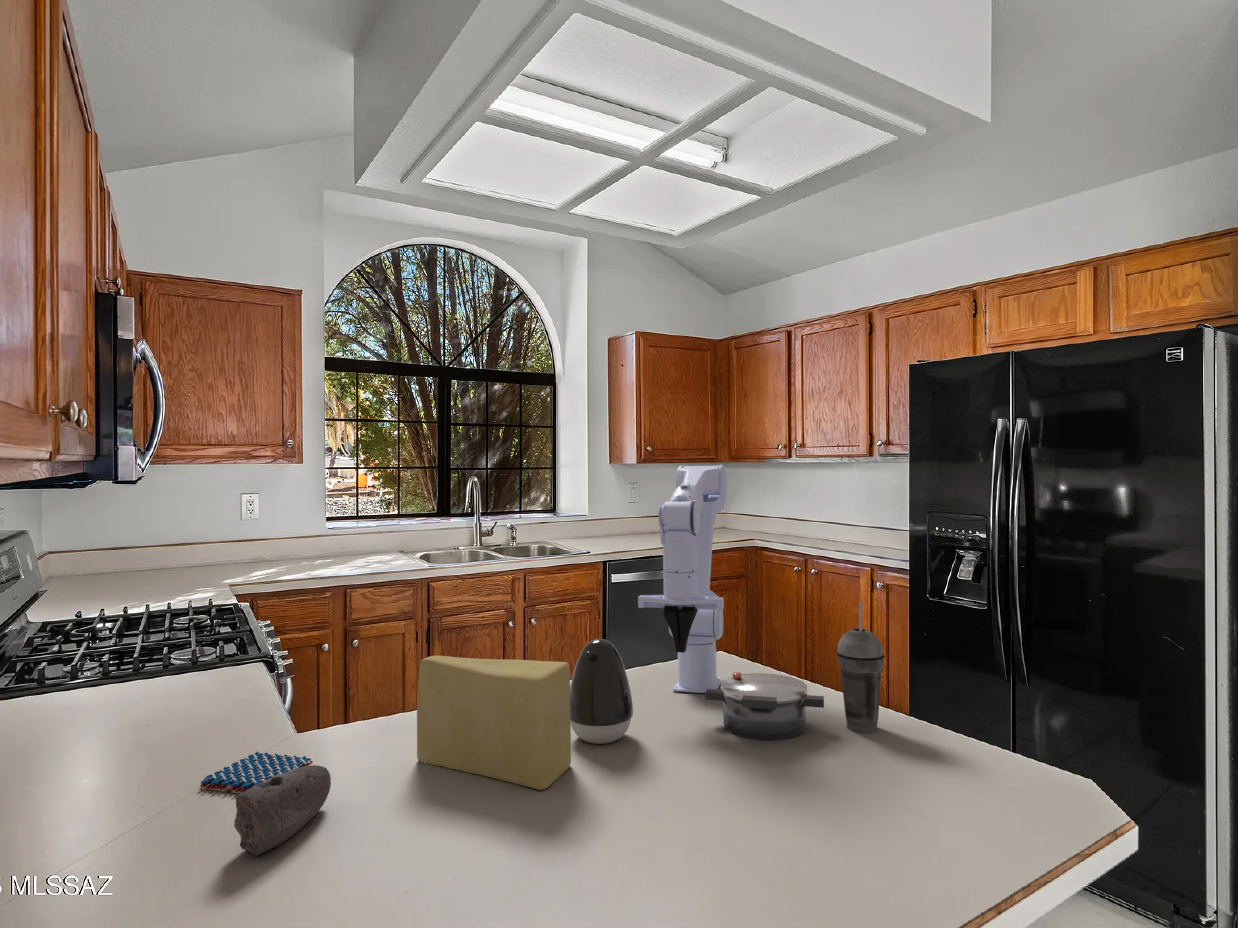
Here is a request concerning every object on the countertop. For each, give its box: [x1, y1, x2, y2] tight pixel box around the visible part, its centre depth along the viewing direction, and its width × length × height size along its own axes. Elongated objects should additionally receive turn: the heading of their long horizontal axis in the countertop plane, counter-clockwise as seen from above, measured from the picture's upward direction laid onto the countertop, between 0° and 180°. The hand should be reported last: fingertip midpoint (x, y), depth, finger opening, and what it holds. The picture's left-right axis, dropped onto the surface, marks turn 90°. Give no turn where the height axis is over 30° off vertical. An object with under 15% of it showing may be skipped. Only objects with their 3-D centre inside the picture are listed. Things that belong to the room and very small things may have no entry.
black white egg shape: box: [570, 638, 634, 745], centre depth 111 cm, size 10×10×15 cm
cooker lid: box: [720, 671, 808, 710], centre depth 114 cm, size 15×14×2 cm
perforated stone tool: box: [233, 764, 332, 856], centre depth 82 cm, size 15×5×7 cm, turn 165°
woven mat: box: [199, 751, 313, 794], centre depth 98 cm, size 10×11×2 cm
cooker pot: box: [704, 688, 825, 741], centre depth 115 cm, size 13×19×6 cm
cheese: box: [416, 655, 572, 791], centre depth 100 cm, size 22×10×15 cm, turn 70°
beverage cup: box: [836, 601, 886, 734], centre depth 114 cm, size 7×7×20 cm
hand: (681, 651), depth 122 cm, fingers closed
